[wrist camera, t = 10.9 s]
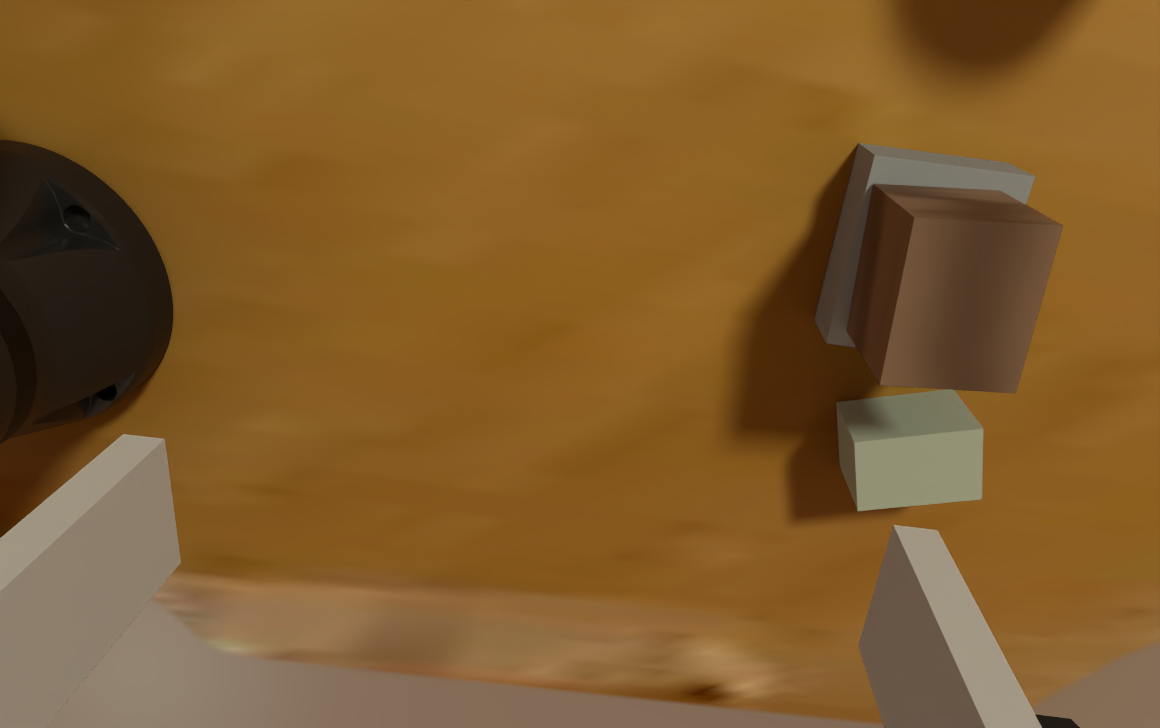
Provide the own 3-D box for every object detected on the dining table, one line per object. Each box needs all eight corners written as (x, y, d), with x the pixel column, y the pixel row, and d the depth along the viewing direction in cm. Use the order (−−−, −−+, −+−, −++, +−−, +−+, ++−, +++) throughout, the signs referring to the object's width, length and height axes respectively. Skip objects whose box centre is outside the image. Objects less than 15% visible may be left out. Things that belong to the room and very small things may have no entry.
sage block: (839, 465, 47) (857, 511, 43) (835, 401, 45) (854, 442, 41) (952, 453, 46) (981, 499, 42) (952, 388, 44) (983, 428, 40)
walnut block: (846, 330, 40) (879, 385, 35) (873, 183, 37) (914, 217, 32) (963, 337, 40) (1015, 393, 34) (999, 190, 37) (1063, 225, 32)
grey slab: (812, 317, 44) (825, 343, 41) (856, 141, 40) (874, 154, 37) (947, 335, 44) (971, 363, 40) (1004, 161, 40) (1035, 176, 37)
